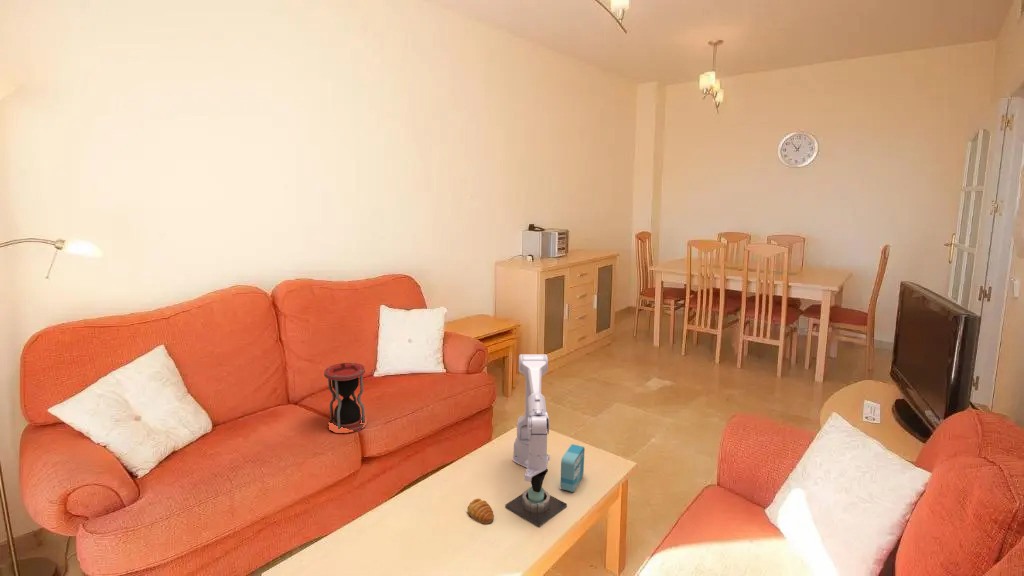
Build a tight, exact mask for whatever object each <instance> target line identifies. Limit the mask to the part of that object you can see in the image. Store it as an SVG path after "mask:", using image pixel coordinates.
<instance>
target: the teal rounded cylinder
mask: <svg viewBox="0 0 1024 576" xmlns="http://www.w3.org/2000/svg"><path fill="white" fill-rule="evenodd" d="M528 489H529V490H528ZM528 489H527V490H528V500H530V501H531V502H537V503H538V502H543V501H544V490H545V489H544V488H543V487H541V490H540V492H535V491H533V489H532V486H530V487H529V488H528Z"/></svg>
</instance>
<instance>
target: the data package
mask: <svg viewBox="0 0 1024 576" xmlns="http://www.w3.org/2000/svg"><path fill="white" fill-rule="evenodd" d="M568 447H569V448H568V449H567V450H566V452H564V454H563V456H562V457H561V462H560V483H559V484H560V486H559V487H560V489H561V490H564V491H568V492H571V493H574V492H575V490H576V489H577V487H578V486H579V484H580V483H581V480H582V478H583V476H584V471H585V470H584V469H585V468H584V467H585V449H586V448H585V446H581V445H578V444H570V446H568Z"/></svg>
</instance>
